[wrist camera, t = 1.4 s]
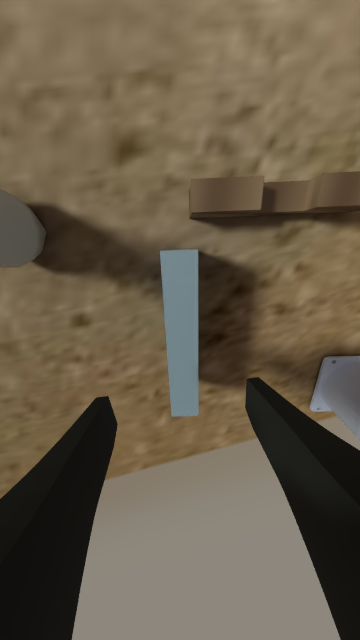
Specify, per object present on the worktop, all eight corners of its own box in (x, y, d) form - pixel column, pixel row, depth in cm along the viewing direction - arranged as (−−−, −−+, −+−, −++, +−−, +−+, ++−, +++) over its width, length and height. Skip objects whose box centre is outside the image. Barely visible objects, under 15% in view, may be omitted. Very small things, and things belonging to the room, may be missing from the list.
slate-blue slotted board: (192, 248, 17) (198, 249, 12) (193, 373, 22) (198, 415, 17) (166, 250, 17) (159, 251, 12) (173, 374, 22) (171, 416, 17)
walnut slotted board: (358, 184, 15) (398, 169, 12) (351, 211, 16) (387, 203, 13) (189, 191, 16) (191, 179, 13) (189, 218, 16) (191, 212, 13)
